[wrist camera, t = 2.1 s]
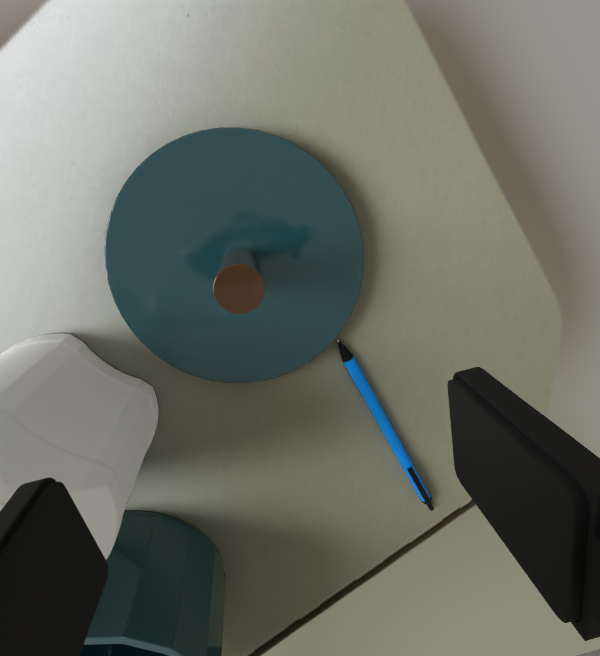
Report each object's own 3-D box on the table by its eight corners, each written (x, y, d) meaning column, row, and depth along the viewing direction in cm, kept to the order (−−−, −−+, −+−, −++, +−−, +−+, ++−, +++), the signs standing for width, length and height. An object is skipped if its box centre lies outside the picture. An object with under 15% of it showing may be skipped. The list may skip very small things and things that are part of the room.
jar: (-44, 413, 27) (-366, 661, 13) (34, 309, 25) (-233, 459, 11) (107, 491, 30) (-11, 752, 16) (183, 405, 29) (126, 609, 15)
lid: (161, 400, 28) (138, 459, 22) (66, 164, 23) (-2, 154, 16) (374, 344, 29) (411, 386, 23) (335, 103, 23) (368, 71, 17)
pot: (82, 660, 36) (29, 815, 27) (2, 541, 30) (-98, 686, 22) (244, 613, 37) (244, 748, 28) (193, 489, 31) (173, 607, 22)
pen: (425, 507, 35) (430, 516, 34) (330, 340, 29) (334, 346, 28) (433, 502, 35) (439, 512, 34) (341, 334, 29) (345, 339, 28)
